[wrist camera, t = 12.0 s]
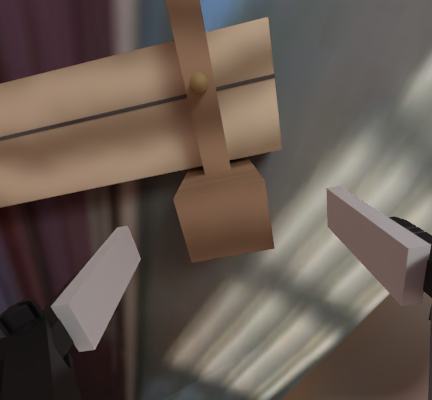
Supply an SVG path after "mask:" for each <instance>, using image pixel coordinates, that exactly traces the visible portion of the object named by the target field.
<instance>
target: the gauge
mask: <svg viewBox="0 0 432 400" xmlns="http://www.w3.org/2000/svg"><path fill="white" fill-rule="evenodd" d="M165 2H166V6H167V11H168V15H169V19H170V24H171V28H172V32H173V37H174V41H175V46H176V50H177V54H178V59H179V63H180V67H181V72H182V76H183V81H184V85H185V89H186V94H187V98H188V102H189V107H190V111H191V116H192V120H193V124H194V129H195V133H196V137H197V142H198V146H199V151H200V155H201V159H202V164H203V166H200V167H195V168H190V169H188V171H187V173H186V175H185V177H184V179H183V181H182V183H181V185H180V187H179V189H178V191H177V193H176V195H175V197H174V199H173V200H174V204H175V207H176V211H177V214H178V218H179V221H180V225H181V228H182V232H183V235H184V238H185V242H186V245H187V249H188V252H189V256H190V259H191V263H193V262H199V261H205V260H210V259H216V258H222V257H228V256H234V255H239V254H245V253H251V252H257V251H262V250H268V249H274V242H273V235H272V228H271V220H270V213H269V205H268V198H267V191H266V183H265V180H264V179H263V178H262V176H261V175H260V173H259V172H258V171H257V169H256V168H255V166H254V165H253V164H252V162H251V161H250V160H249V158H248V157H243V158H239V159H234V160H229V156H228V151H227V145H226V140H225V135H224V129H223V124H222V119H221V113H220V108H219V102H218V97H217V92H216V86H215V81H214V76H213V70H212V65H211V60H210V54H209V49H208V43H207V38H206V33H205V27H204V22H203V17H202V11H201V6H200V1H199V0H165Z"/></svg>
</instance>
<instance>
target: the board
mask: <svg viewBox="0 0 432 400" xmlns="http://www.w3.org/2000/svg"><path fill="white" fill-rule="evenodd" d="M206 38H207V43H208V49H209V54H210V60H211V65H212V70H213V76H214V81H215V86H216V92H217V97H218V102H219V108H220V113H221V119H222V124H223V129H224V135H225V140H226V145H227V151H228V156H229V160H234V159H239V158H243V157H248V156H253V155H258V154H263V153H268V152H272V151H277V150H282V144H281V134H280V125H279V116H278V106H277V97H276V87H275V76H274V68H273V59H272V50H271V40H270V31H269V21H268V17H266V18H262V19H258V20H254V21H250V22H246V23H242V24H238V25H234V26H230V27H226V28H222V29H218V30H214V31H210V32H206ZM200 166H203V164H202V159H201V155H200V151H199V146H198V142H197V137H196V133H195V129H194V124H193V120H192V116H191V111H190V107H189V102H188V98H187V94H186V89H185V85H184V81H183V76H182V72H181V67H180V63H179V59H178V54H177V50H176V46H175V41H170V42H166V43H162V44H158V45H154V46H150V47H146V48H142V49H138V50H134V51H130V52H126V53H122V54H118V55H114V56H110V57H106V58H102V59H98V60H94V61H90V62H86V63H82V64H78V65H74V66H70V67H66V68H62V69H58V70H54V71H50V72H46V73H42V74H38V75H34V76H30V77H26V78H22V79H18V80H14V81H10V82H6V83H2V84H0V208H1V207H6V206H10V205H15V204H20V203H25V202H30V201H35V200H40V199H44V198H49V197H54V196H59V195H64V194H69V193H74V192H78V191H83V190H88V189H93V188H98V187H103V186H108V185H112V184H117V183H122V182H127V181H132V180H137V179H141V178H146V177H151V176H156V175H161V174H166V173H171V172H175V171H180V170H185V169H190V168H195V167H200Z"/></svg>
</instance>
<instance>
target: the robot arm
mask: <svg viewBox="0 0 432 400" xmlns="http://www.w3.org/2000/svg"><path fill="white" fill-rule="evenodd" d="M327 216H328V227H329V228H330V229H331V230H332V232H333V233H334V234H335V235H336V236H337V237H338V238H339V239H340V240H341V241H342V242H343V243H344V244H345V246H346V247H347V248H348V249H349V250H350V251H351V252H352V253H353V254H354V255H355V256H356V257H357V258H358V260H359V261H360V262H361V263H362V264H363V265H364V266H365V267H366V268H367V269H368V270H369V271H370V272H371V273H372V275H373V276H374V277H375V278H376V279H377V280H378V281H379V282H380V283H381V284H382V285H383V286H384V287H385V289H386V290H387V291H388V292H389V293H390V294H391V295H392V296H393V297H394V298H395V299H396V300H397V301H398V303H399V304H400V305H402V306H404V305H411V304H418V303H422V299H423V292H426V293H427V294H428V295H429V296H430V297H431V298H432V235H430V234H428V233H427V232H424V231H423V230H422V229H420V228H418V227H416V226H415V225H413V224H412V223H410V222H408V221H407V220H404V219H400V218H397V217H387V216H385V215H384V214H382V213H381V212H379V211H377V210H376V209H374V208H373V207H371V206H370V205H368V204H367V203H365V202H363V201H362V200H360V199H359V198H357V197H356V196H354V195H352V194H351V193H349V192H348V191H346V190H345V189H343V188H342V187H340V186H336V187H331V188H327ZM140 260H141V258H140V255H139V253H138V250H137V248H136V245H135V243H134V240H133V238H132V235H131V232H130V230H129V227H128V226H123V227H118V228H116V229H115V231H114V232H113V233H112V234H111V235H110V237H109V238H108V239H107V240H106V241H105V243H104V244H103V245H102V246H101V247H100V248H99V250H98V251H97V252H96V253H95V254H94V256H93V257H92V258H91V259H90V260H89V262H88V263H87V264H86V265H85V266H84V267H83V269H82V270H81V271H80V272H78V273H77V274H76V275H75V276H73V277H72V278H71V279H70V280H69V281H68V282H67V283H66V284H65V286H64V288H62V289H61V290H60V291H59V294H57V295H56V296H55V297H54V298H53V299H52V301H51V302H50V303H49V304H48V305H47V306H46V308H45V309H44V310H43V311H42V310H41V309H40V307H39V306H38V304H37V302H36V301H35V300H34V299H27V300H23V301H21V302H19V303H16V304H15V305H13V306H11V307H10V308H8V309H7V310H6V311H4V312H3V313H2V314H1V315H0V329H1V330H2V332H3V333H4V334H5V336H6V337H4V338H1V339H0V400H81V396H80V392H79V387H78V383H77V378H76V374H75V369H74V364H73V360H72V356H71V355H70V353H69V352H68V351H69V349H70V348H71V346H72V344H73V343H74V345H75V346H76V348H77V349H78V351H79V352H82V351H89V350H95V349H96V347H97V345H98V343H99V341H100V339H101V337H102V335H103V333H104V331H105V329H106V327H107V325H108V323H109V321H110V319H111V317H112V315H113V313H114V311H115V309H116V307H117V305H118V303H119V301H120V299H121V298H122V296H123V294H124V292H125V290H126V288H127V286H128V284H129V282H130V280H131V278H132V276H133V274H134V272H135V270H136V268H137V266H138V264H139V262H140ZM429 320H430V321H431V331H430V333H431V334H430V363H429V392H428V400H432V305H431V310H430V316H429Z"/></svg>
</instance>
